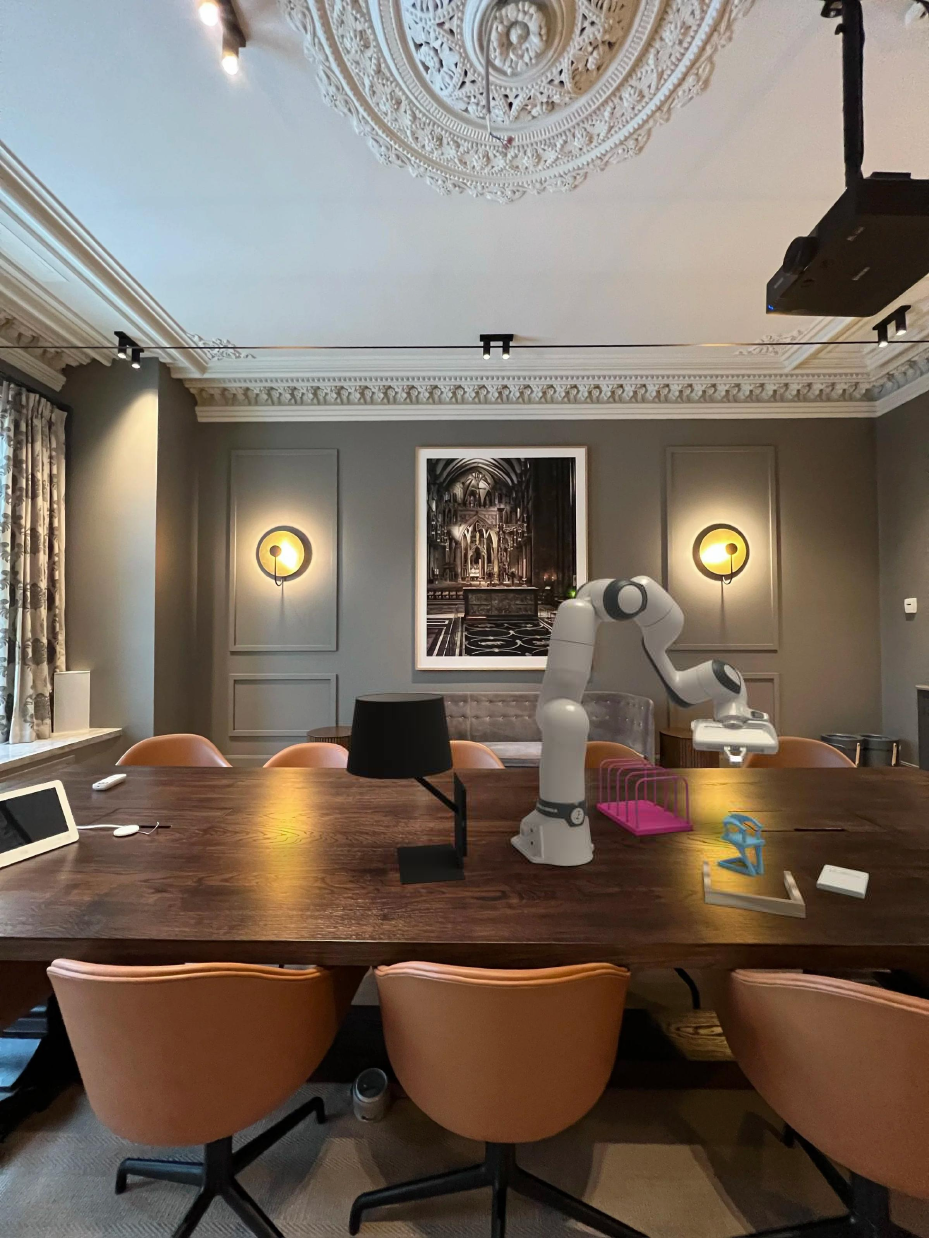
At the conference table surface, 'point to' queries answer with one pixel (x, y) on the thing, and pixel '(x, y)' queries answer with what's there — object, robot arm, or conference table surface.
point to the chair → (743, 844)
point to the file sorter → (644, 804)
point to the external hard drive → (843, 881)
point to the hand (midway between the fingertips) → (736, 764)
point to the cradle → (756, 898)
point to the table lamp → (411, 769)
